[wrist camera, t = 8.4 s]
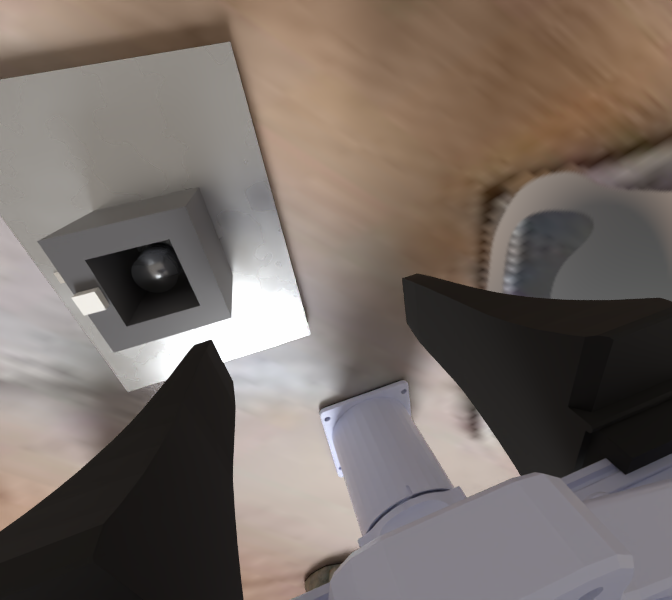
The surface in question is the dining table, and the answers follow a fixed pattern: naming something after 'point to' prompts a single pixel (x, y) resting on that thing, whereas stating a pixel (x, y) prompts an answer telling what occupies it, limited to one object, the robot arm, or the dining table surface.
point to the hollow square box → (119, 256)
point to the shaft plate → (151, 187)
